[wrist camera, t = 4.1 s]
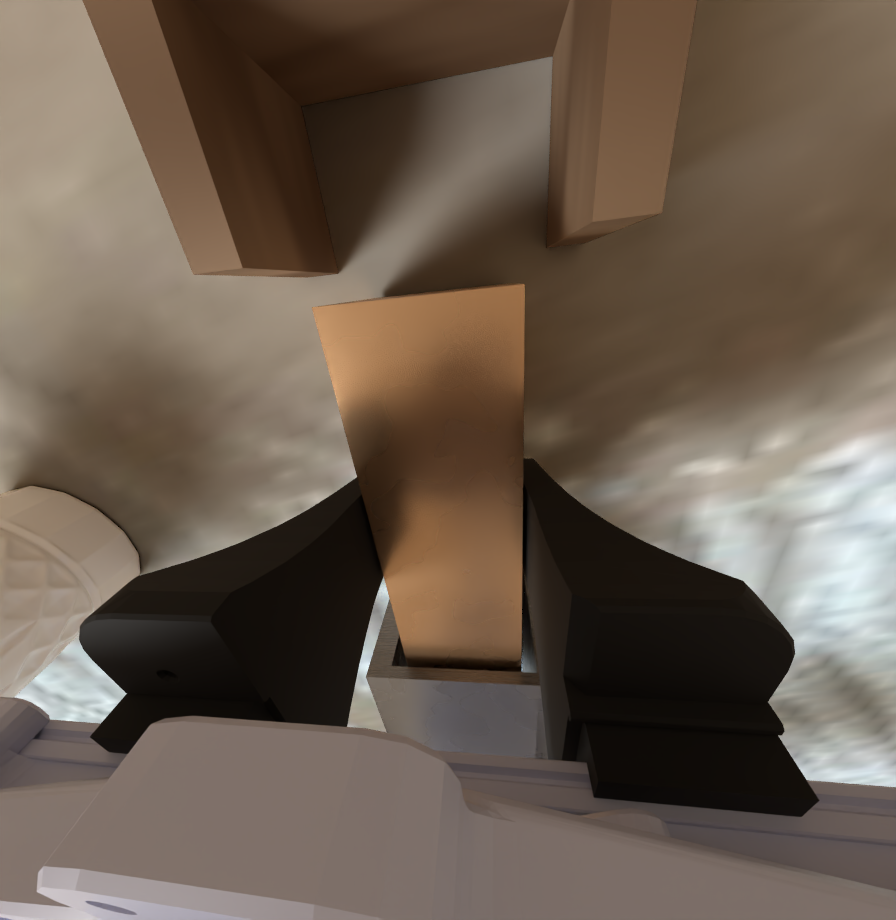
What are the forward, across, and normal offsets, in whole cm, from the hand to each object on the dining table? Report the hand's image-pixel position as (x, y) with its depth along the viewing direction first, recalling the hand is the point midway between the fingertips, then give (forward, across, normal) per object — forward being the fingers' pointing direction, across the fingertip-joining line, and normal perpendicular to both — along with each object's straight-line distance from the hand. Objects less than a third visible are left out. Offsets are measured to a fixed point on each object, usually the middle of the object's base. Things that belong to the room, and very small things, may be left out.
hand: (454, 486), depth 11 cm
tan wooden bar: (+1, 0, +2) cm, 2 cm away
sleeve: (+1, 0, +10) cm, 10 cm away
